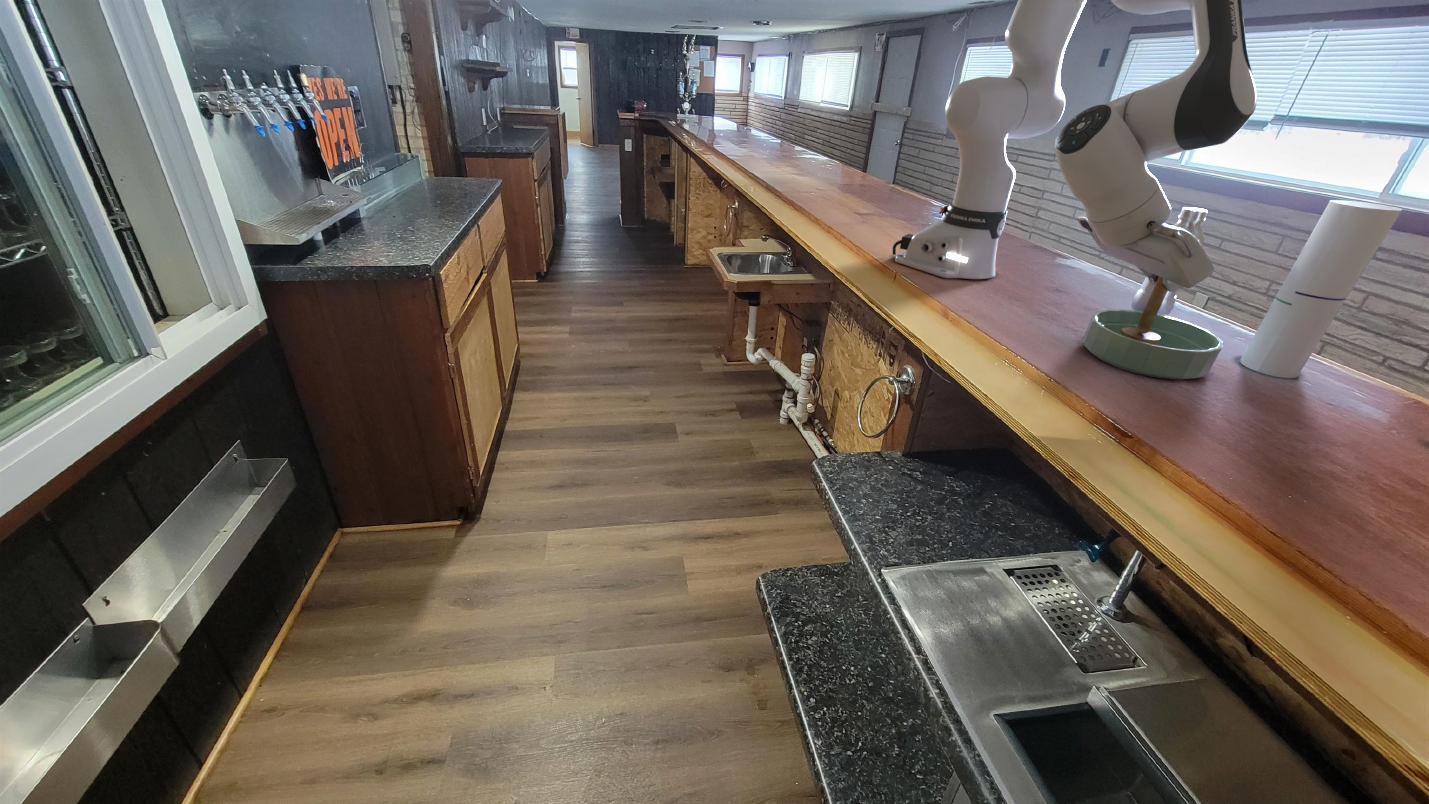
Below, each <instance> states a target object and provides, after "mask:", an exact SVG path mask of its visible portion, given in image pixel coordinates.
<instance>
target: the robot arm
mask: <svg viewBox="0 0 1429 804" xmlns="http://www.w3.org/2000/svg"><path fill="white" fill-rule="evenodd" d="M1110 1H1111V2H1112V4H1113V5H1114V6H1115V7H1117V8H1118V9H1120V10H1122V11H1124V12H1127V13H1130V14H1136V15H1158V14H1162V13H1163V14H1164V13H1167V12H1169V13H1170V12H1175V11H1183V10H1184V11H1185V10H1186V11H1190V12H1191V13H1190V14H1191V25H1192V33H1193V44H1194V54H1195V55H1194V56H1195V58H1194V60H1193V62H1192V63H1191V65H1189V67H1187V68H1186V69H1185V70H1183V72H1181V73H1179V74H1177V75H1173V76H1172V77H1169V78H1167V79H1165V80H1161V81H1159V82H1157V83H1154V84H1152V85H1149V86H1147V87H1144V88H1142V89H1141V88H1140V89H1137V90H1135V91H1132V92H1130V93H1127V94H1125V95H1123V96H1120V97H1118V98H1115V99H1112V100H1110V101H1109V102H1107V103H1105V104H1098V105H1097V104H1096V105H1095V106H1091V107H1088V108H1086V109H1084V110H1083V111H1081V112H1079V113H1077V115H1075V116H1074V117H1073V118H1071V119H1070V120H1069V121H1068V122H1067V123H1066V124H1065V125H1064V126H1063V127H1062V129H1060V131H1059V133H1058V135H1057V136H1056V138H1055V141H1054V151H1055V153H1054V154H1055V157H1056V160H1057V164H1058V167H1059V169H1060V172H1061V173H1062V177H1063V179H1064V180H1065V182H1066V184H1067V186H1068V188H1069V190H1070V192H1071V193H1072V195H1073V197H1074V198H1075V199H1077V201H1079V202H1080V203H1081V204H1082V206H1083V210H1084V211H1083V212H1081V213H1080V214H1079V215H1078V216H1076V220H1077V222H1078V224H1079V225H1080V226H1081V228H1083V229H1086V230H1087V232H1088V234H1089V235H1090V237H1091V238H1092V239H1093V241H1094V242H1095V243H1096V245H1097V246H1098V247H1099V249H1101V251H1103V252H1104V253H1106V254H1107V255H1109V256H1112V257H1114V258H1117V259H1119V260H1120V261H1123V262H1126V263H1128V264H1130V265H1132V266H1135V267H1136V268H1137V269H1138V270H1139V271H1140V272H1141V273H1142V274H1143V275H1145V277H1147V278H1148V280H1149V282H1150V283H1152V284H1156V281H1157V279H1158V277H1159V276H1160V277H1162V278H1163V281H1161V284H1162V286H1163V288H1164V289H1166V290H1168V291H1170V292H1175V291H1176V290H1178V291H1179V289H1181V288H1185V289H1191V288H1194V287H1195V286H1198V284H1200V283H1203V282H1204V281H1206V280H1207V279H1208V278H1209V277H1210V276H1211V277H1212V275H1213V273H1214V271H1215V266H1214V264H1213V262H1212V261H1211V259H1210V257H1209V255H1208V254H1207V252H1206V251H1205V249H1204V248H1203V245H1202V246H1201V245H1200V243H1199V242H1198V240H1197V239H1196V238H1195V237H1194V236H1193V235H1192V234H1191V233H1189V232H1188V231H1186V230H1183V229H1180V228H1177V227H1174V226H1172V225H1170V224H1167V223H1166V222H1167V221H1168V219H1169V218H1170V216H1171V214H1172V207H1171V204H1170V203H1169V200H1168V199H1167V196H1166V195H1165V192H1164V191H1163V189H1162V186H1161V185H1160V183H1159V181H1158V179H1157V178H1156V176H1155V175H1153V174H1152V173H1151V172H1150V171H1149V169H1148V167H1147V165H1148V163H1149V162H1152V161H1155V160H1158V159H1163V158H1166V157H1169V156H1173V155H1176V154H1179V153H1183V152H1186V151H1189V152H1190V151H1194V150H1199V149H1204V148H1208V147H1209V148H1210V147H1214V146H1219V145H1222V144H1225V143H1227V142H1228V141H1230V140H1231V139H1232V138H1233V137H1234V136H1235V135H1236V134H1237V133H1238V132H1239V131H1240V130H1241V129H1242V128H1243V127H1244V126H1245V125H1246V123H1248V121H1249V120H1250V119H1251V117H1252V116H1253V114H1254V113H1255V111H1256V107H1257V89H1256V84H1255V79H1254V75H1253V72H1252V67H1251V64H1250V60H1249V55H1248V54H1249V53H1248V47H1247V39H1246V31H1245V21H1244V13H1243V11H1244V10H1243V5H1242V0H1110ZM1086 3H1087V0H1017V2H1016V5H1015V7H1014V9H1013V12H1012V15H1011V17H1010V20H1009V21H1008V25H1007V27H1006V30H1005V33H1004V41H1005V44H1006V46H1007V48H1008V49H1009V50H1010V52H1011V57H1012V59H1011V67H1010V71H1009V74H1008V76H1007V77H1006V76H1005V77H1004V76H981V77H976V78H972V79H968V80H963V81H962V82H960V83H959V84H958V85H956V86H955V87H954V89H953V90H952V91H951V93H950V95H949V96H948V100H947V101H946V104H945V110H944V116H945V117H944V118H945V122H946V126H947V128H948V130H949V131H950V132H951V133H952V135H953V136H954V137H955V140H956V144H957V147H958V154H959V169H958V170H959V171H958V177H957V181H956V186H955V192H954V196H953V200H952V202H951V203H950V204H948V205H946V206H943V207H941V208H939V210H940V211H938V212H939V213H938V214H940V215H941V218H940V220H938V221H936V222H934V223H932V224H931V225H929V226H927V227H925V228H924V229H922V230H919V231H918V232H917V233H915V234H911V233H907V234H905V235H903V236H902V237H901V239H900V240H897V241H896V242H895V243H894V244H893V246H892V255H893V256H895V258H894V262H895V263H898V264H901V265H904V266H907V267H910V268H913V269H915V270H919V271H922V272H925V273H927V274H928V273H929V274H931V275H934V276H937V277H939V278H940V277H941V278H944V279H966V280H986V279H987V280H988V279H991V278H994V277H996V258H997V252H998V251H997V250H998V244H999V239H1000V237H1001V236H1002V234H1003V231H1004V228H1005V225H1006V220H1007V215H1008V210H1007V208H1008V205H1009V201H1010V198H1011V193H1012V190H1013V188H1014V183H1015V179H1016V175H1017V174H1016V173H1017V172H1016V169H1015V167H1014V165H1013V164H1012V163H1010V162H1009V160H1008V157H1007V153H1006V152H1007V150H1006V148H1007V147H1006V146H1007V139H1009V140H1011V139H1013V140H1015V139H1017V140H1025V139H1030V138H1035V137H1038V136H1041V135H1044V134H1047V133H1049V132H1050V131H1051V130H1053V129H1055V127H1056V126H1057V125H1058V123H1059V122H1060V120H1061V118H1062V116H1063V114H1064V111H1065V107H1066V96H1065V94H1064V91H1063V88H1062V85H1061V71H1062V64H1063V59H1064V56H1065V55H1064V54H1065V53H1066V52H1065V51H1066V48H1067V46H1068V43H1069V41H1070V38H1071V37H1072V34H1073V31H1074V29H1075V27H1076V25H1077V22H1078V20H1079V18H1080V16H1081V13H1082V11H1083V9H1084V7H1085V5H1086ZM898 245H899V249H900V250H904V251H902V252H900V253H898V254H897V247H898Z"/></svg>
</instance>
